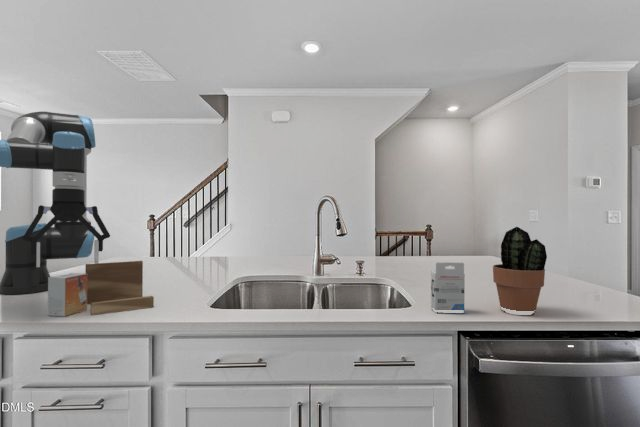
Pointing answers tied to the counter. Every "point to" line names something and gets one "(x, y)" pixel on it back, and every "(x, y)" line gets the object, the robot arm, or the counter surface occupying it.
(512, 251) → the potted plant
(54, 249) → the robot arm
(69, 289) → the small box
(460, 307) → the ink box
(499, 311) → the counter surface
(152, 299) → the board
